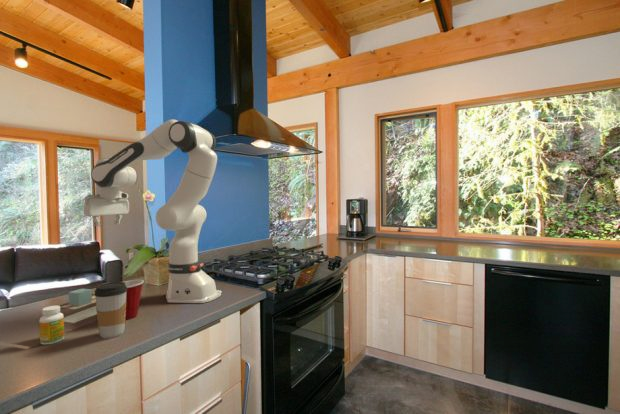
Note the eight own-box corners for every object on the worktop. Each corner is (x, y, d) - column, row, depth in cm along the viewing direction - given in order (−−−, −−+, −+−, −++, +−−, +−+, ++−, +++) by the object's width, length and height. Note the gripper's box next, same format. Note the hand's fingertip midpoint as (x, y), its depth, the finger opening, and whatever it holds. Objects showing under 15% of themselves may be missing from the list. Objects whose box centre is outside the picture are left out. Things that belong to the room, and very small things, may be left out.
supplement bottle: (50, 346, 86) (49, 311, 86) (35, 344, 87) (33, 310, 87) (69, 337, 91) (68, 305, 91) (54, 335, 92) (53, 303, 92)
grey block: (126, 304, 119) (125, 292, 119) (74, 324, 100) (73, 310, 100) (109, 302, 121) (109, 290, 121) (56, 322, 102) (55, 308, 102)
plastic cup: (122, 310, 112) (121, 278, 112) (151, 311, 112) (150, 278, 112) (100, 323, 101) (99, 287, 101) (132, 323, 101) (131, 287, 101)
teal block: (91, 302, 120) (91, 289, 120) (79, 306, 115) (78, 293, 115) (82, 301, 121) (81, 288, 121) (69, 305, 116) (68, 292, 116)
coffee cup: (123, 338, 90) (122, 287, 90) (90, 342, 88) (89, 290, 88) (131, 326, 98) (130, 280, 98) (101, 330, 96) (100, 282, 96)
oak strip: (122, 294, 132) (122, 283, 131) (75, 310, 112) (75, 298, 112) (107, 292, 134) (107, 282, 134) (59, 308, 114) (58, 296, 114)
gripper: (90, 194, 128) (91, 227, 129) (131, 194, 148) (132, 223, 148) (79, 194, 130) (80, 227, 130) (121, 194, 150) (121, 223, 150)
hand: (108, 225), depth 139 cm, fingers open, 8 cm apart
